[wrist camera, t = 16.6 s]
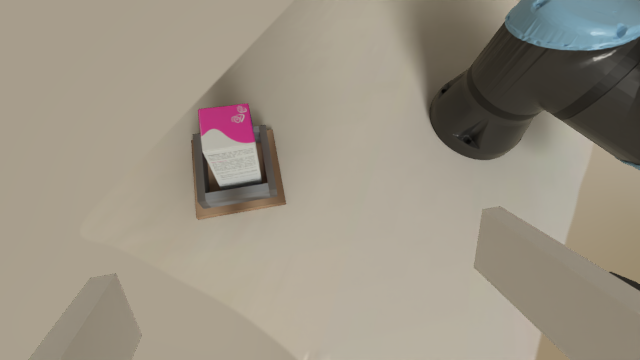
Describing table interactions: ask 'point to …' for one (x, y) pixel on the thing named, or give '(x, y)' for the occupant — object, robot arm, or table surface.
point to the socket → (244, 198)
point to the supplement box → (230, 145)
